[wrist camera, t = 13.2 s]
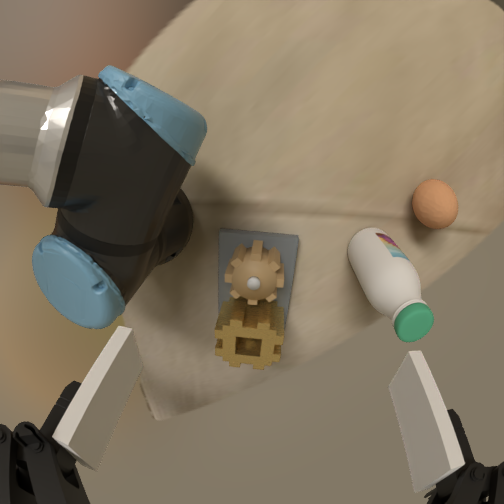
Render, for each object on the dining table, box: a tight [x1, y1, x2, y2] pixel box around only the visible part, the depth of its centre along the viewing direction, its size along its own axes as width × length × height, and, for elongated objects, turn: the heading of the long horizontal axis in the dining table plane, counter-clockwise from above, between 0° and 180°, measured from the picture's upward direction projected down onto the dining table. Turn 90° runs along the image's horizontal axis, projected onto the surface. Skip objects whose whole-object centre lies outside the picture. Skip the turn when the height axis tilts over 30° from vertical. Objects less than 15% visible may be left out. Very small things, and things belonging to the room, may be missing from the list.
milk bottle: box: [348, 228, 434, 342], centre depth 34 cm, size 8×8×20 cm
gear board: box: [219, 229, 299, 330], centre depth 44 cm, size 12×20×7 cm, turn 176°
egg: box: [412, 179, 458, 229], centre depth 34 cm, size 7×7×8 cm
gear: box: [215, 296, 284, 370], centre depth 45 cm, size 10×10×8 cm
